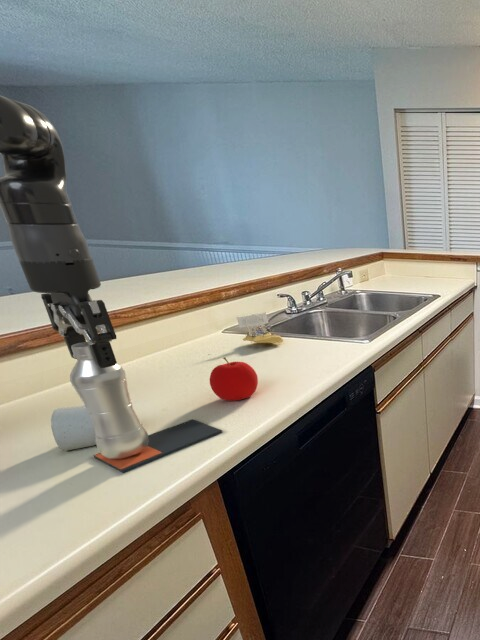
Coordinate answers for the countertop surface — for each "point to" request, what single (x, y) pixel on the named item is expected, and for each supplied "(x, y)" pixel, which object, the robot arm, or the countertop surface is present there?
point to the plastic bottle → (107, 405)
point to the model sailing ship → (259, 336)
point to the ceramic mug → (72, 428)
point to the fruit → (233, 381)
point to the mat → (163, 444)
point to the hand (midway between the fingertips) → (94, 362)
